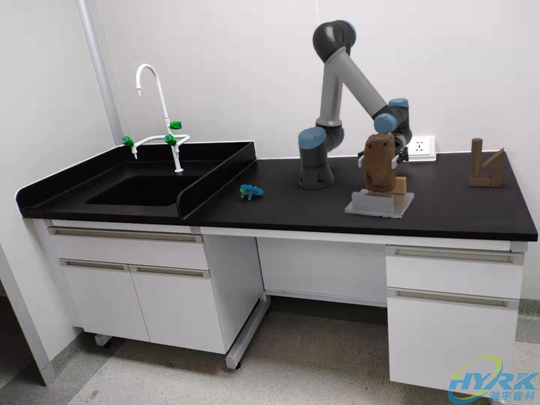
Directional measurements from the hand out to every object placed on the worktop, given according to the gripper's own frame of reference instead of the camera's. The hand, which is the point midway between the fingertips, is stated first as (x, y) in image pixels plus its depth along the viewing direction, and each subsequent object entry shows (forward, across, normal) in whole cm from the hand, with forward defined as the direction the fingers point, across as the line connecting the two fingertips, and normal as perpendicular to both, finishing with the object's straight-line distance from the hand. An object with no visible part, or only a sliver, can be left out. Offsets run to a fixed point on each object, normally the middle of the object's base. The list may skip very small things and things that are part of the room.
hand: (375, 164), depth 143 cm
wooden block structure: (-30, -31, -18) cm, 47 cm away
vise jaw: (-13, +1, -16) cm, 21 cm away
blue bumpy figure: (+1, +54, -17) cm, 57 cm away
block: (-4, 0, -11) cm, 12 cm away
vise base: (-5, +1, -17) cm, 18 cm away
